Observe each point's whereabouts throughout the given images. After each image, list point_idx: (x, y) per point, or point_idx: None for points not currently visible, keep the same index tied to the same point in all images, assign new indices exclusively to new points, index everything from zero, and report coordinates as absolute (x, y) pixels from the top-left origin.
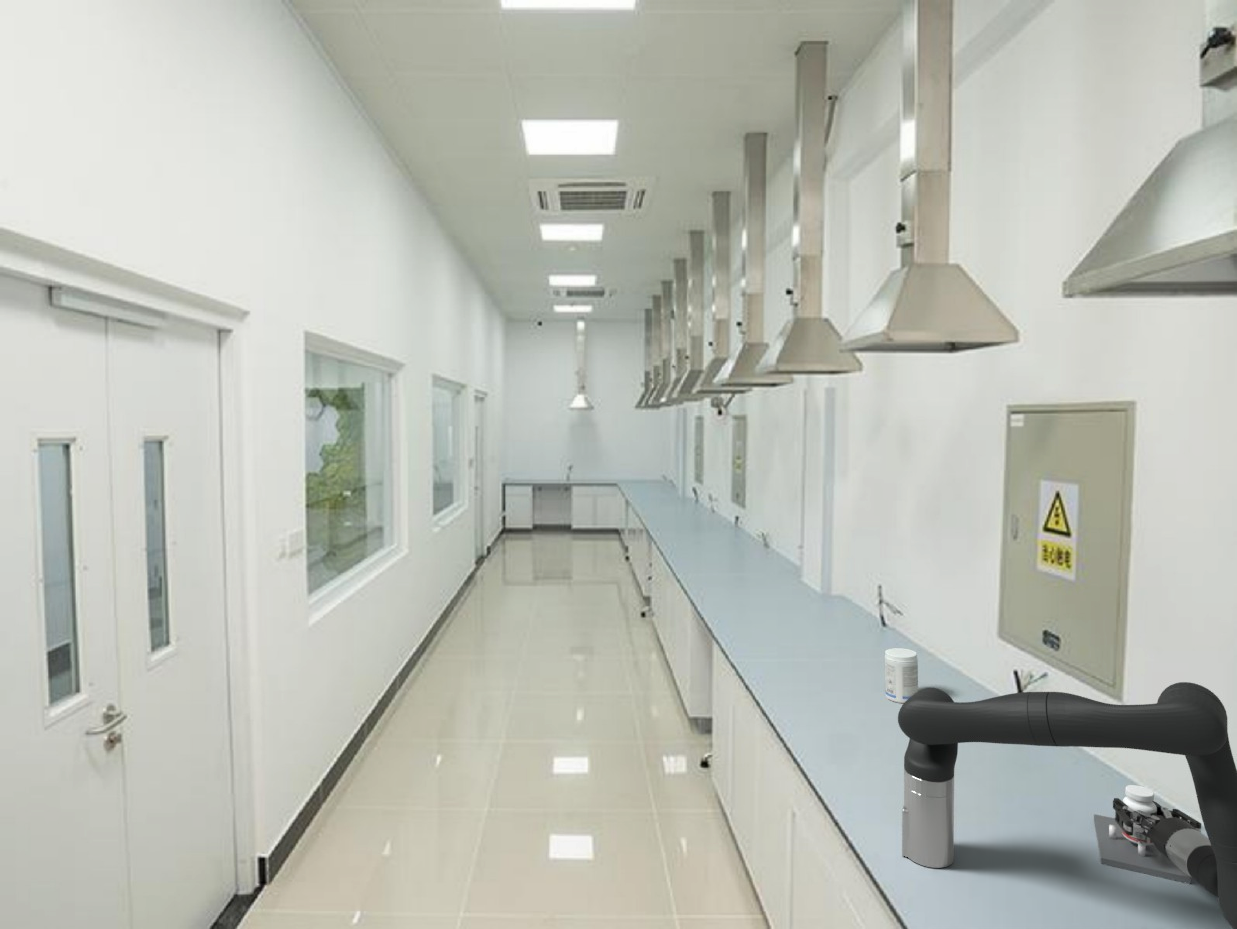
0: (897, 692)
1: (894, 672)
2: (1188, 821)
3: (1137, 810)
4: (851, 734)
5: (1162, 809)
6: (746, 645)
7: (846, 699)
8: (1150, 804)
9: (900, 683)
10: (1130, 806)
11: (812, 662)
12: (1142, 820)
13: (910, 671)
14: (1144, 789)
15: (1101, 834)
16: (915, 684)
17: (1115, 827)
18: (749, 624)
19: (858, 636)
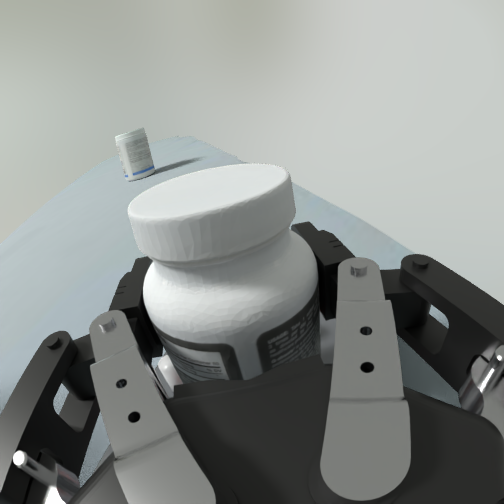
0: (127, 171)
1: (120, 152)
2: (501, 363)
3: (117, 357)
4: (44, 226)
5: (344, 283)
6: (86, 176)
7: (91, 192)
8: (262, 268)
9: (127, 161)
10: (146, 305)
11: (112, 172)
12: (103, 464)
13: (133, 146)
14: (246, 173)
15: (162, 377)
16: (143, 158)
17: (174, 369)
18: (110, 163)
19: (172, 148)
